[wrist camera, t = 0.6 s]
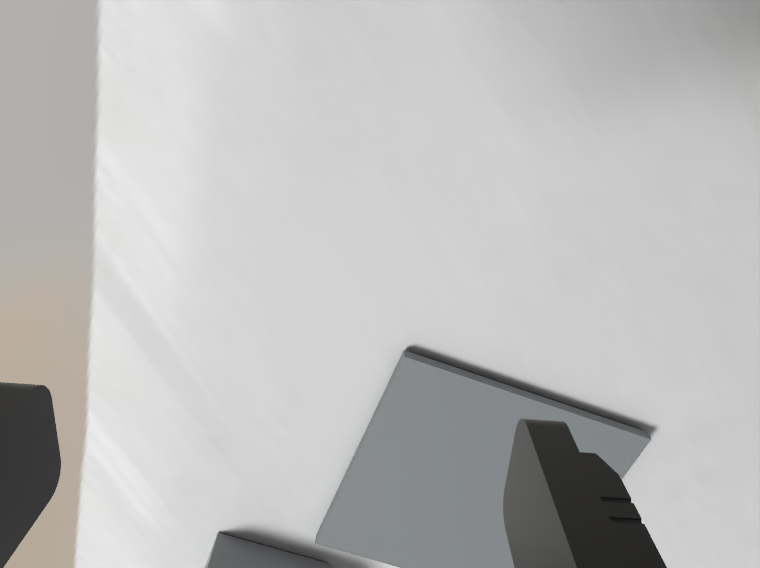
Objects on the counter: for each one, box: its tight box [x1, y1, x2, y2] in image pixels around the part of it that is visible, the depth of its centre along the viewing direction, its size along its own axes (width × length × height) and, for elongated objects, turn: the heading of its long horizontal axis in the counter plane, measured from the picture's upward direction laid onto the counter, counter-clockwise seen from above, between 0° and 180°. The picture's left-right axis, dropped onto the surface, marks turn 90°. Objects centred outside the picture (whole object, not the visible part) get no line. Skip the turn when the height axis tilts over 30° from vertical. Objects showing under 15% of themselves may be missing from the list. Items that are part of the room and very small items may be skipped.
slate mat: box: [315, 350, 651, 568], centre depth 35 cm, size 14×14×1 cm
